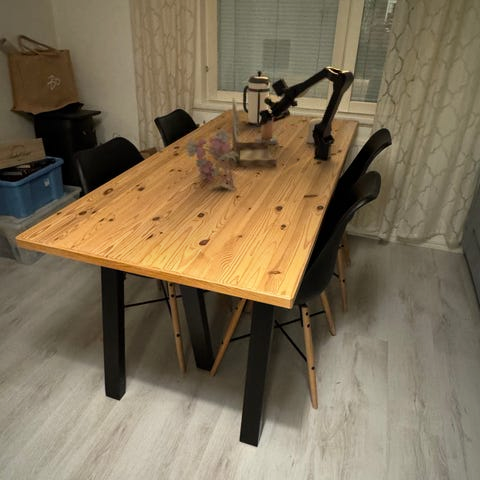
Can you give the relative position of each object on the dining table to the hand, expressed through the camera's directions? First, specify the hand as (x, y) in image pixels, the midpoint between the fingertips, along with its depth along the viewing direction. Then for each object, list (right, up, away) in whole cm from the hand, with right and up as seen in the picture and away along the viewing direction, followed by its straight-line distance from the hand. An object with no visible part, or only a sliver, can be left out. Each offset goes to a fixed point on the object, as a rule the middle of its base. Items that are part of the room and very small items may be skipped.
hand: (265, 123), depth 205 cm
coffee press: (-3, +11, +38) cm, 40 cm away
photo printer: (+27, -8, +6) cm, 29 cm away
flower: (-24, -38, -46) cm, 64 cm away
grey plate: (+1, -9, +4) cm, 10 cm away
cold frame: (-7, -22, -18) cm, 29 cm away
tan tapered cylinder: (+1, -7, +3) cm, 8 cm away
